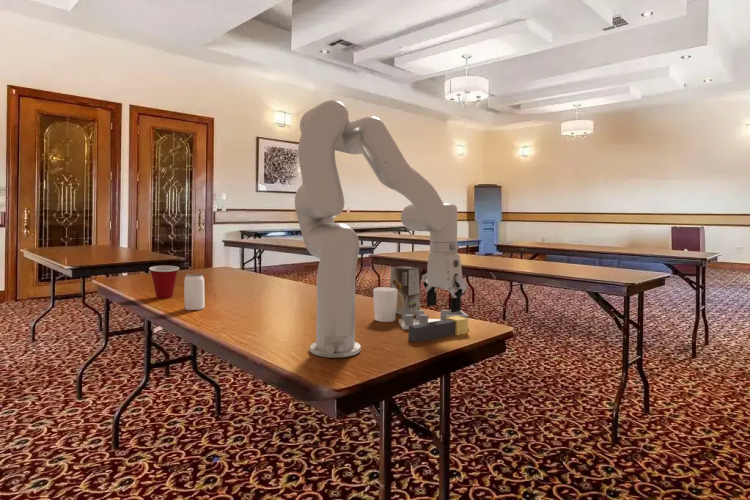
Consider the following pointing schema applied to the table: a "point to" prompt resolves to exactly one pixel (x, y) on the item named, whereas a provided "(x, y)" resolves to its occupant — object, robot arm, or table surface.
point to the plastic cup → (164, 280)
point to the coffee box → (407, 288)
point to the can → (194, 292)
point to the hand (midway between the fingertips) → (443, 308)
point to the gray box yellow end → (438, 329)
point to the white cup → (385, 304)
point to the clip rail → (426, 317)
